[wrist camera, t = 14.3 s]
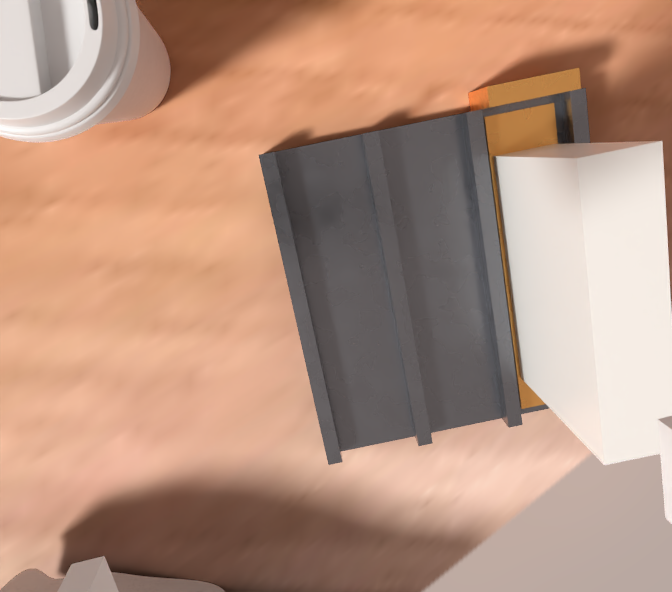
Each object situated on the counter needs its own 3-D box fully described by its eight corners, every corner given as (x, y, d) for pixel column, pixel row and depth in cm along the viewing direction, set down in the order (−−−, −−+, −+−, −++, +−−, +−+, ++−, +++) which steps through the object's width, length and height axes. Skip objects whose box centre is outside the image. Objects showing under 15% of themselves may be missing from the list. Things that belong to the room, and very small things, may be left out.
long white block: (493, 156, 38) (576, 158, 26) (552, 143, 38) (662, 140, 26) (521, 378, 42) (604, 465, 30) (575, 367, 42) (678, 449, 30)
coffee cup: (169, 167, 38) (87, 177, 24) (24, 112, 37) (-157, 86, 22) (215, 21, 36) (156, -66, 22) (63, -42, 35) (-108, -180, 20)
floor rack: (257, 136, 38) (252, 134, 34) (566, 73, 38) (595, 64, 34) (327, 447, 44) (329, 476, 40) (595, 391, 44) (623, 415, 40)
